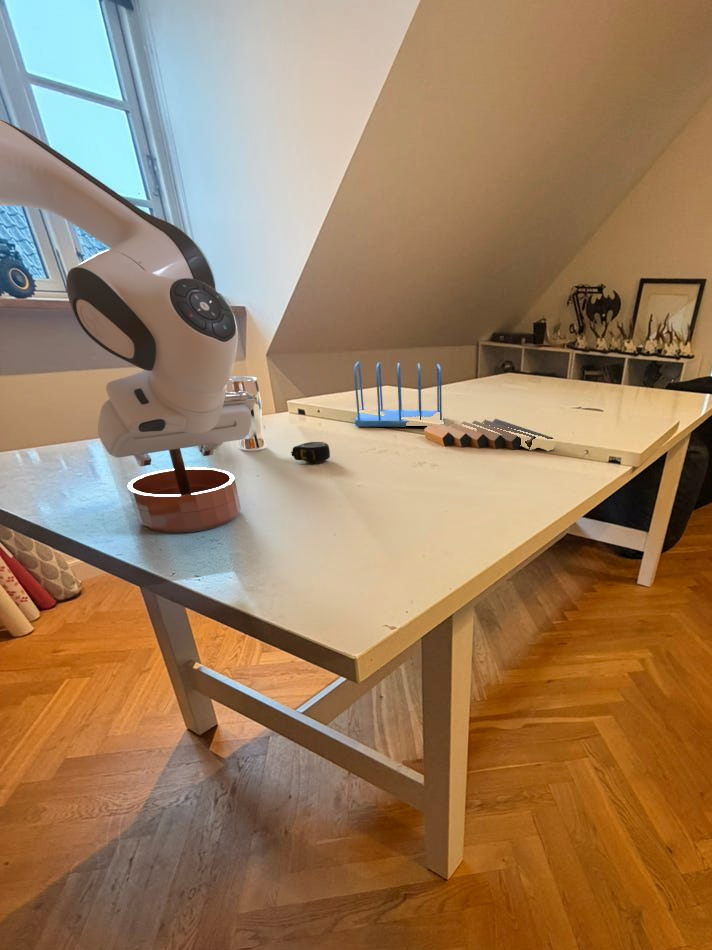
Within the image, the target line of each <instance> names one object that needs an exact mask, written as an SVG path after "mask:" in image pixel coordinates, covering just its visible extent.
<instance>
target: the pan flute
mask: <svg viewBox="0 0 712 950" xmlns="http://www.w3.org/2000/svg"><path fill="white" fill-rule="evenodd" d="M471 423H473V424H476V425H479V426H482V427H484V428H487V429H490V430H493V431H495V432H498V433H500V434H502V435H499V434H497V433H494V432H491V431H488V430H486V429H483V428H480V427H477V426H475V425H472V424H471ZM471 423H469V422H466V421H462V422H461V424H464V425H467V426H470V427H473V428H476V429H477V432H476V431H474V430H471V429H469V428H466V427H463V426H461V425H460V424H458V423H455V422H451V423H450V424H449V425H447V424H445V423H444V424H440V425H439V426H438V427H434V426H432V425H428V426H427V427H424V429H423V433H424V436H425V437H424V438H425V439H427V440H429V441H431V442H433V443H435V444H438V445H440V446H442V447H444V446H445V447H452V446H453V445H455V446H457V447H460V448H469V447H470V446H472V447H474V448H477V449H483V448H484V449H485V448H487V447H489V448H492V449H494V450H500V449H501V450H502V449H504V448H507V449H510V450H512V451H515V450H516V451H517V450H520V449H521V447H520V445H521V438H520V437H518V436H517V435H514V434H511V433H509V432H506V431H511V432H514V433H519V434H523V435H526V436H529V437H531V439H530V440H527V441H525V443H526V444H527V446H528V447H529V449H530V447H531V445H532V440H533V439H535V438H536V437H535V436H532V435H529V434H526V433H523V432H520V431H517V430H521V431H524V432H528V433H531V434H534V435H538V436H542V437H545V438H547V439H554V438H553V436H549V435H546V434H543V433H541V432H537V431H534V430H531V429H528V428H526V427H522V426H519V425H516V424H513V423H510V422H507V421H504V420H501V419H498V418H494V419H493V421H491V420H488V419H484V420H483V421H482V422H481V421H477V420H473V422H471ZM483 423H484V424H483ZM489 425H490V426H489ZM449 426H451V427H449ZM494 427H495V428H494ZM508 427H509V428H508ZM497 428H499V429H497ZM511 428H512V429H511ZM500 429H502V430H500ZM514 429H516V430H514ZM503 430H506V431H503ZM504 446H505V447H504ZM519 448H520V449H519Z"/></svg>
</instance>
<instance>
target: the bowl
mask: <svg viewBox="0 0 712 950" xmlns="http://www.w3.org/2000/svg"><path fill="white" fill-rule="evenodd" d="M185 470H186V474H187V478H188V482H189V485H190V489H191V494H182V495H181V494H180V491H179V487H178V483H177V479H176V475H175V472H174V468H172V469H165V470H159V471H154V472H150V473H147V474H143V475H141V476H138V477H136V478H133V479H131V480H130V482H128V484H127V490H128V493H129V497H130V500H131V503H132V507H133V510H134V513H135V516H136V520H137V521H138V522H139V523H140V524H141V525H143V526H145V527H147V528H148V529H150V530H152V531H156V532H161V533H170V534H175V533H176V534H181V533H182V534H183V533H196V532H202V531H207V530H212V529H215V528H219V527H222V526H225V525H226V524H228V523H230V522H232V521H234V520H235V518H237V516H238V515H239V513H240V512H241V510H242V506H241V503H240V498H239V493H238V487H237V482H236V479H235V476H234V474H232V473H230V472H229V471H226V470H221V469H217V468H209V467H208V468H207V467H185Z"/></svg>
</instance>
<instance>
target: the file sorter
mask: <svg viewBox="0 0 712 950" xmlns="http://www.w3.org/2000/svg"><path fill="white" fill-rule="evenodd" d="M357 370H358V377H357ZM396 370H397V371H396V372H397V373H396V374H397V398H398V401H397V402H398V409H384V406H383V405H384V404H383V387H382V368H381V362H380V361H379V362H377V364H376V367H375V378H376V395H377V396H376V397H377V410H378V416H376V415H368V414H363V413H359V411H360V403H361V410H365V409H364V407H365V406H364V396H363V383H362V371H361V363H360V361H357V362H356V363H355V364H354V366H353V377H354V388H355V403H356V411H357V412H356V413H357V415H356V418H355V419H354V424H355V425H354V426H355V427H358V428H359V427H360V428H361V427H362V428H363V427H366V428H369V427H378V428H379V427H380V428H382V427H383V428H384V427H385V428H386V427H387V428H388V427H391V428H399V427H400V428H407V427H406V423H407V422H409V421H406V420H403V419H401V418H402V417H413V416H414V417H416V416H417V417H418V416H420V420H421V417H423V416H424V417H431V416H433V415H434V414H435V413H437V412H440V420H442V415H443V412H442V409H443V407H442V404H443V403H442V401H443V400H442V368H441V366H440V363H437V364H436V406H437V407H436V410H422V380H421V379H422V375H421V373H422V372H421V371H422V370H421V363H417V393H418V394H417V396H418V409H417V410H415V409H414V410H413V409H412V410H411V409H403V404H402V379H401V377H402V376H401V363H400V362H397V367H396ZM358 378H359V389H358ZM359 391H360V402H359ZM380 411H381V412H383V413H384V414H385V415H384V416H381V415H380Z"/></svg>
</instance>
